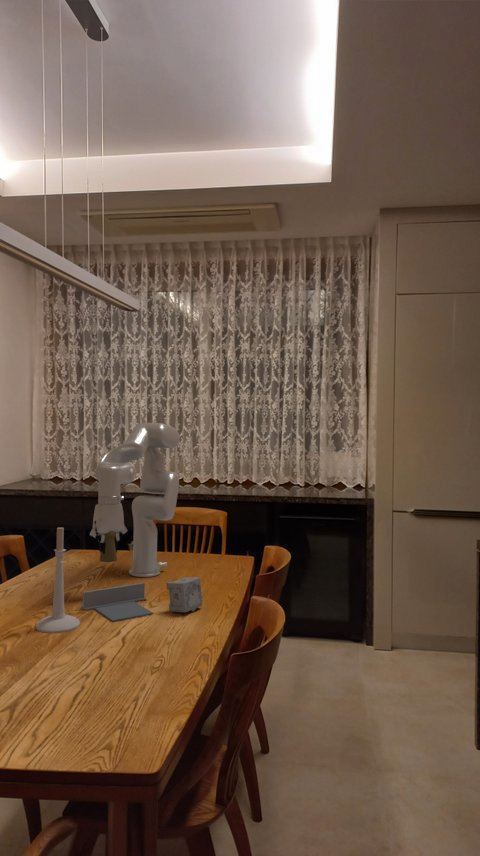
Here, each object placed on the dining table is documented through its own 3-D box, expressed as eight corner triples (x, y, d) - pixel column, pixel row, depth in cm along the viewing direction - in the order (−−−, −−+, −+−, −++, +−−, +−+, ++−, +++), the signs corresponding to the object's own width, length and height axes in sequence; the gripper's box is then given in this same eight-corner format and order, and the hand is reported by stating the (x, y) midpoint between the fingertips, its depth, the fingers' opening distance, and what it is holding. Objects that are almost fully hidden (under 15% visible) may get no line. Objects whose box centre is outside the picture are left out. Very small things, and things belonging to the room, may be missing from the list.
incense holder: (183, 604, 205) (184, 573, 204) (203, 608, 200) (203, 577, 200) (165, 611, 196) (165, 579, 196) (185, 616, 192) (186, 584, 192)
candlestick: (88, 621, 184) (90, 524, 184) (63, 635, 172) (65, 531, 172) (53, 616, 188) (55, 521, 188) (26, 629, 176) (28, 528, 176)
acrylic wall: (140, 597, 210) (141, 581, 210) (146, 600, 207) (146, 584, 207) (80, 607, 197) (81, 590, 197) (85, 611, 194) (85, 593, 194)
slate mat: (133, 603, 204) (133, 601, 204) (153, 614, 192) (153, 612, 192) (94, 609, 195) (94, 608, 195) (112, 622, 184) (112, 620, 184)
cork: (119, 558, 213) (119, 527, 212) (114, 562, 207) (114, 530, 206) (102, 557, 213) (103, 526, 213) (97, 561, 207) (97, 530, 207)
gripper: (126, 497, 217) (125, 547, 218) (82, 500, 207) (81, 553, 208) (135, 500, 211) (134, 551, 212) (90, 503, 201) (90, 557, 202)
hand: (108, 551), depth 210 cm, fingers closed on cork, 3 cm apart
